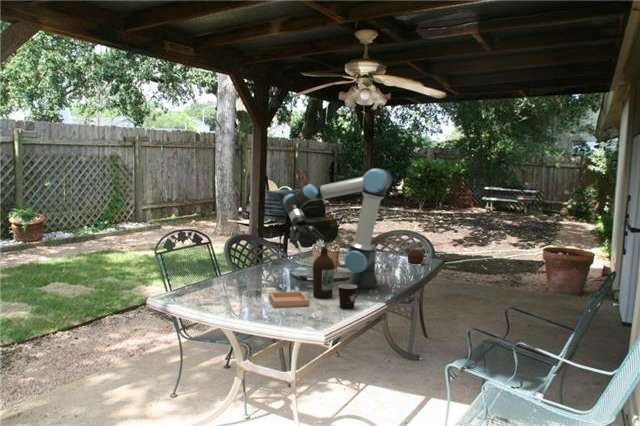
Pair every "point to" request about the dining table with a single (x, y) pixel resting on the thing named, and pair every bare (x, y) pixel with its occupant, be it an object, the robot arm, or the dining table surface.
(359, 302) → the dining table surface
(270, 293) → the bin
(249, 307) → the dining table surface
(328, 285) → the olive oil
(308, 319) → the dining table surface
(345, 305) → the coffee mug
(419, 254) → the muffin
